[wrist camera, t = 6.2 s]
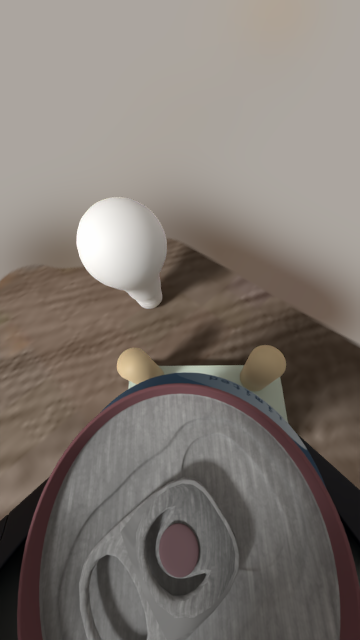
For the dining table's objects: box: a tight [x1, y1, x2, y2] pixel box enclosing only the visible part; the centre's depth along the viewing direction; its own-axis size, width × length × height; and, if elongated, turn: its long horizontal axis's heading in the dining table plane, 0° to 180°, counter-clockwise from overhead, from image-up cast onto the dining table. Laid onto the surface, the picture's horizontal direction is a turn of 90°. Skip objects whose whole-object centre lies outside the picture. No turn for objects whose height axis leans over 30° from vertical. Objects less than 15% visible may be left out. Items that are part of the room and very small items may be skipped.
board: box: [117, 345, 288, 423], centre depth 12 cm, size 18×12×6 cm, turn 179°
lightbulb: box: [77, 197, 167, 309], centre depth 18 cm, size 6×6×11 cm
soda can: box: [17, 372, 360, 640], centre depth 9 cm, size 7×7×12 cm
